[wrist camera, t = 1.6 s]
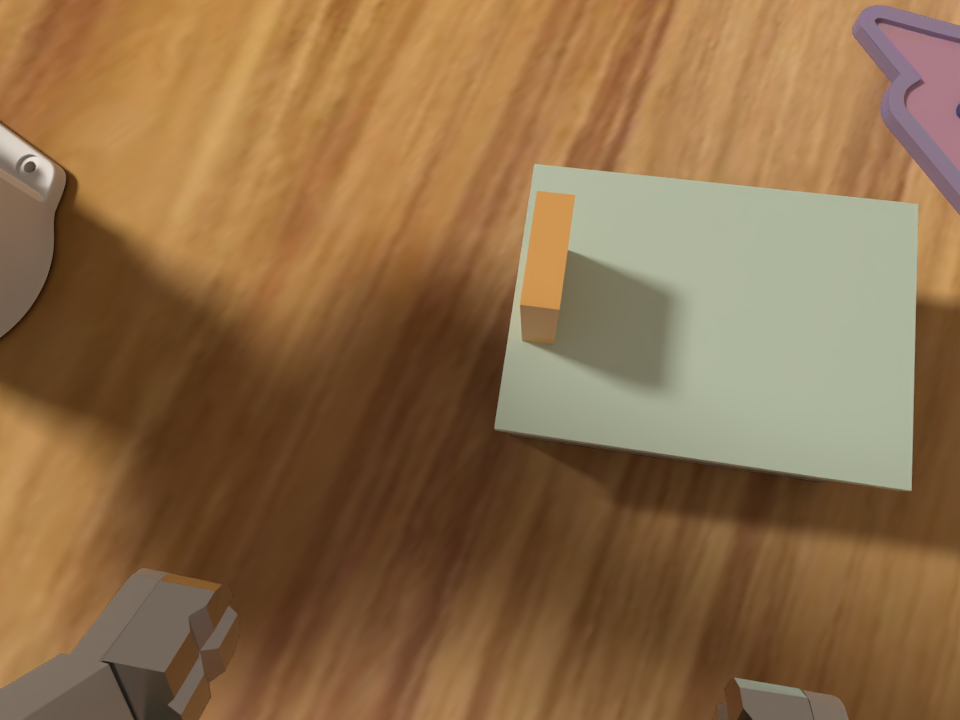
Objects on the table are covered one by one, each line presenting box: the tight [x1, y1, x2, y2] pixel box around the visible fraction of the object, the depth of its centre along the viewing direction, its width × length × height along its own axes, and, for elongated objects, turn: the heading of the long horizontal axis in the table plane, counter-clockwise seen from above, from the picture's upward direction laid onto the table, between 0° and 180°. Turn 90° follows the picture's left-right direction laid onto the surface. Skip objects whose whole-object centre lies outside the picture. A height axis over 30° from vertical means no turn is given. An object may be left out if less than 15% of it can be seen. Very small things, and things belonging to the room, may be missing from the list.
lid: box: [494, 164, 918, 491], centre depth 30 cm, size 19×14×8 cm
